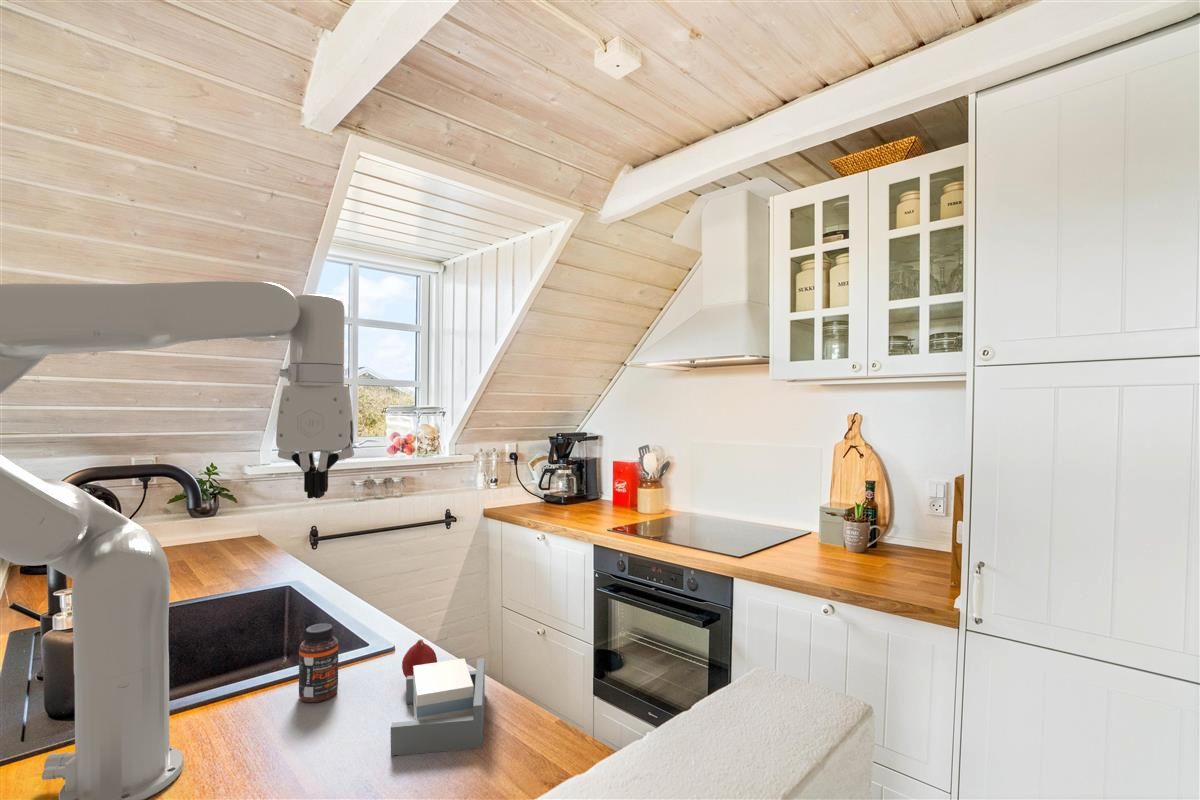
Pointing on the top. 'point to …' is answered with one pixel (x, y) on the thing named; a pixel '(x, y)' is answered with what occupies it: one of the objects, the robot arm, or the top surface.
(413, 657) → the onion
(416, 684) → the carton
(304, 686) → the supplement bottle
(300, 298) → the robot arm
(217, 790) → the top surface
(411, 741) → the bay
